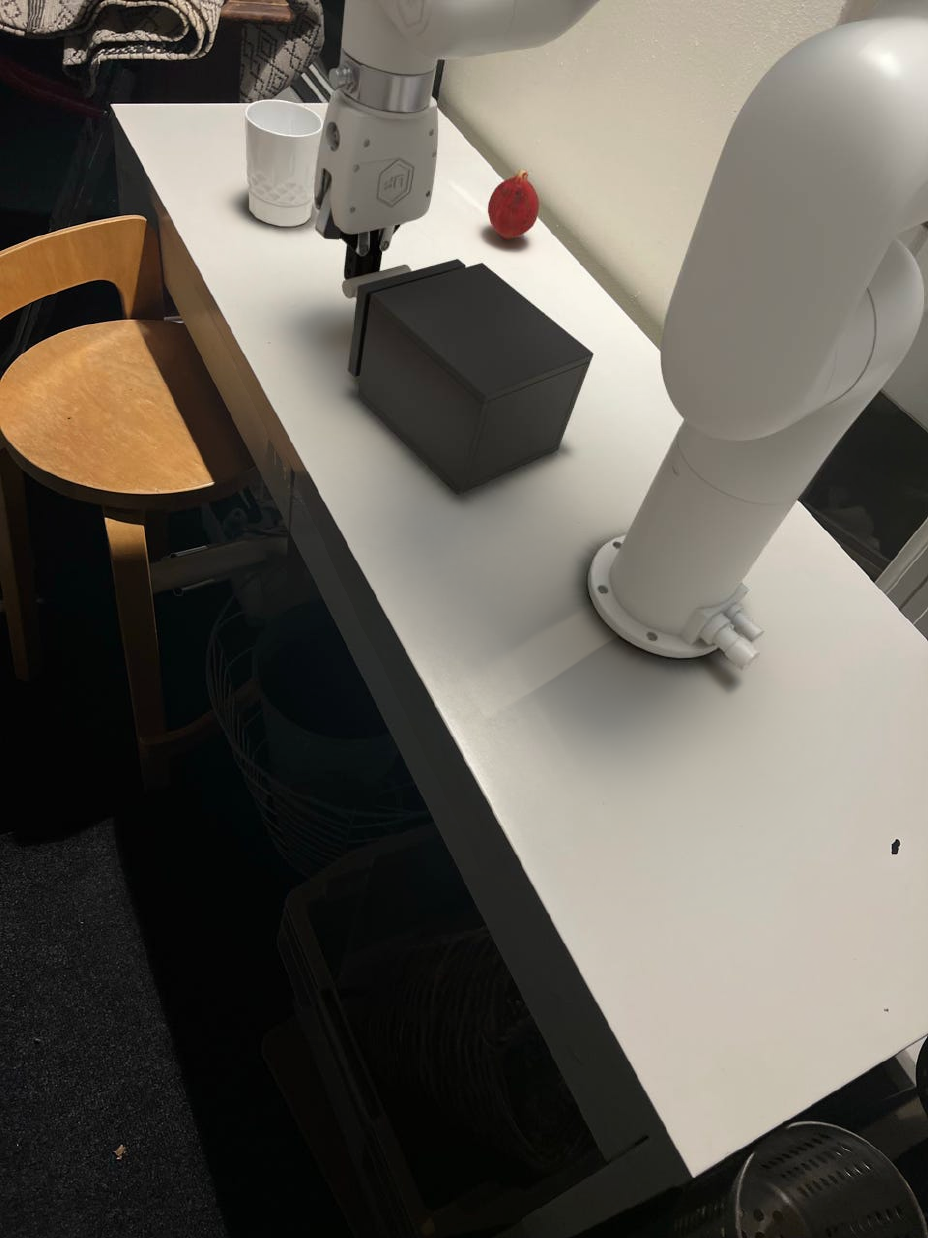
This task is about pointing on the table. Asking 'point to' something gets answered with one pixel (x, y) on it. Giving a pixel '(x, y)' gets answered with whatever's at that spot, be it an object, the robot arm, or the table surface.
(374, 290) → the drawer
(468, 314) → the dark grey box
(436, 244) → the table surface
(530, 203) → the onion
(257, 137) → the white cup
